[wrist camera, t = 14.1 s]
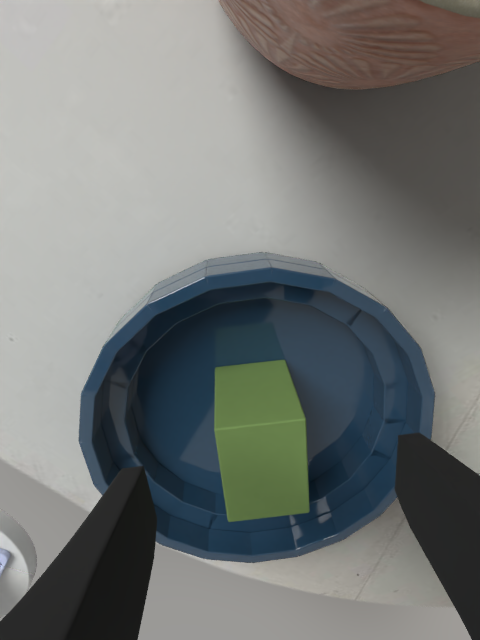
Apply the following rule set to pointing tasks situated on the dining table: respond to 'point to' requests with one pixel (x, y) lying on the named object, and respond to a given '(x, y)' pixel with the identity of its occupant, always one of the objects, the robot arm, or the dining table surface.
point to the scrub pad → (260, 441)
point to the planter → (361, 38)
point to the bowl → (242, 348)
